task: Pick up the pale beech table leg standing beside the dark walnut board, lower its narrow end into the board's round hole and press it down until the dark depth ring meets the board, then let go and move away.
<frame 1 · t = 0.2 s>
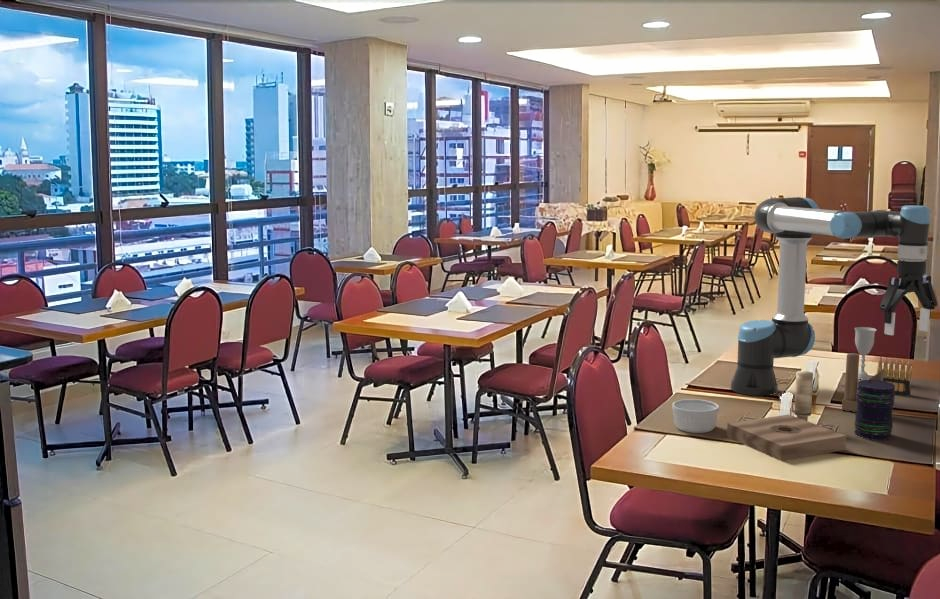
hand: (906, 332, 262), 28 cm above the table, tool pointing down, fingers open, 13 cm apart
walnut board: (784, 443, 250), on the table
beech leg: (801, 425, 266), on the table
ramekin: (694, 428, 265), on the table
ammunition clip: (892, 393, 302), on the table
chalice: (861, 379, 321), on the table
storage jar: (872, 435, 257), on the table
wooden peg block: (861, 412, 280), on the table
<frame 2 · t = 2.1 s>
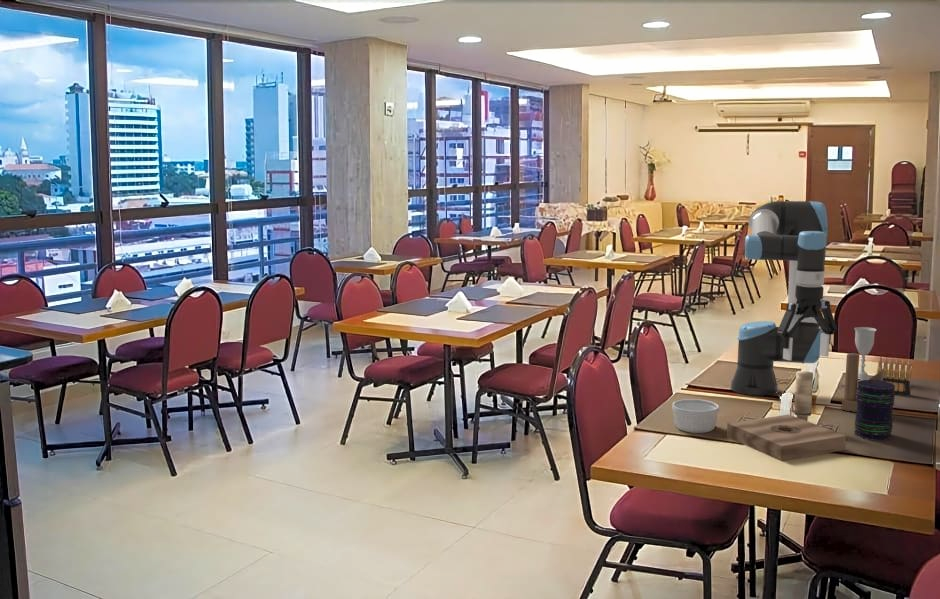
hand: (805, 357, 263), 21 cm above the table, tool pointing down, fingers open, 13 cm apart
nothing on the table moved.
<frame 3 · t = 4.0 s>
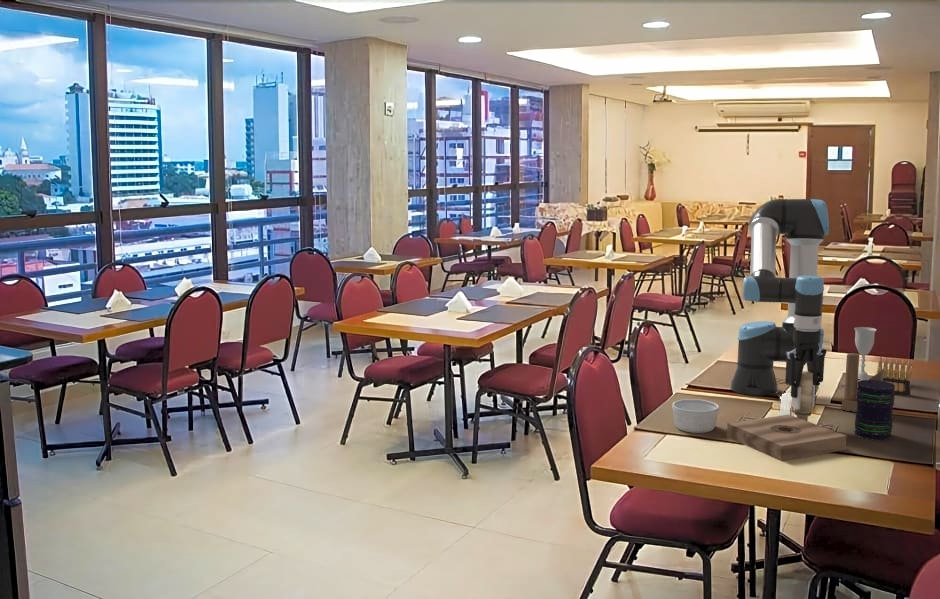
hand: (802, 406, 265), 6 cm above the table, tool pointing down, fingers closed on beech leg, 4 cm apart
beech leg: (801, 425, 266), on the table, touching gripper
everything else where it was.
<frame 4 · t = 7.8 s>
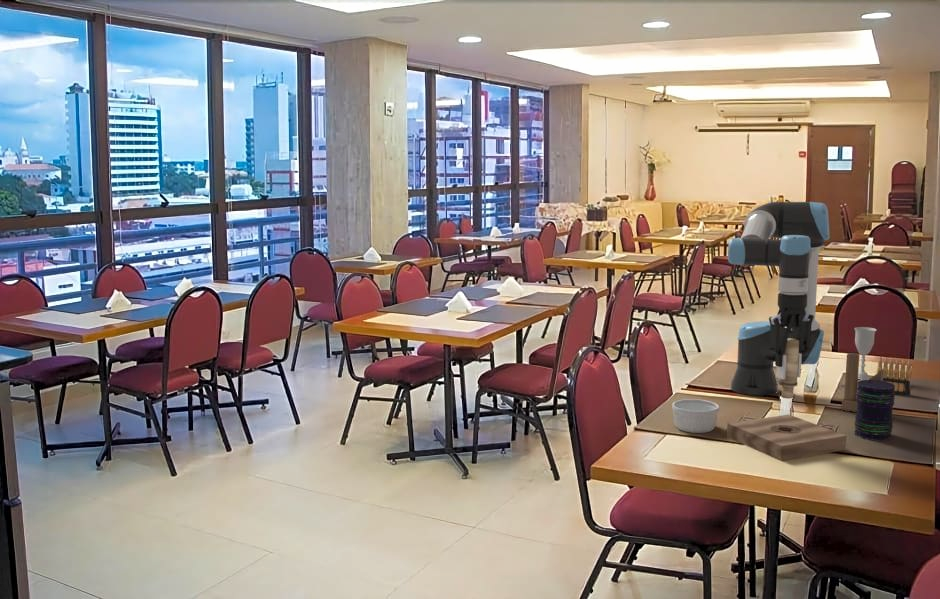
hand: (788, 377, 247), 19 cm above the table, tool pointing down, fingers closed on beech leg, 4 cm apart
beech leg: (787, 397, 248), point 13 cm above the table, touching gripper
everything else where it was.
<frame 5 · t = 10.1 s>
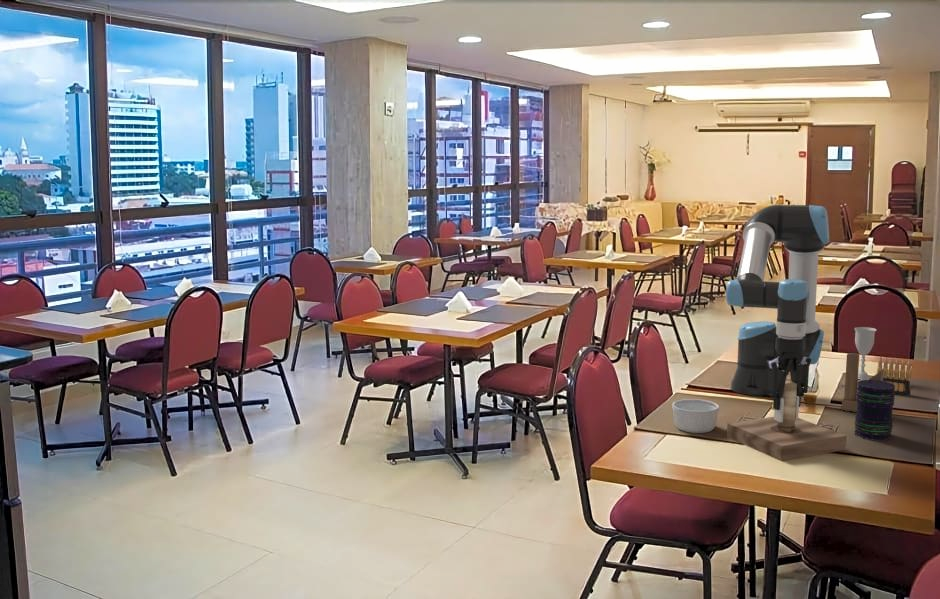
hand: (786, 419, 249), 7 cm above the table, tool pointing down, fingers closed on beech leg, 4 cm apart
beech leg: (785, 439, 250), point 1 cm above the table, touching gripper
everything else where it was.
when the fingers open (6 cm above the table, at t = 11.6 s): beech leg stays where it is, resting on walnut board.
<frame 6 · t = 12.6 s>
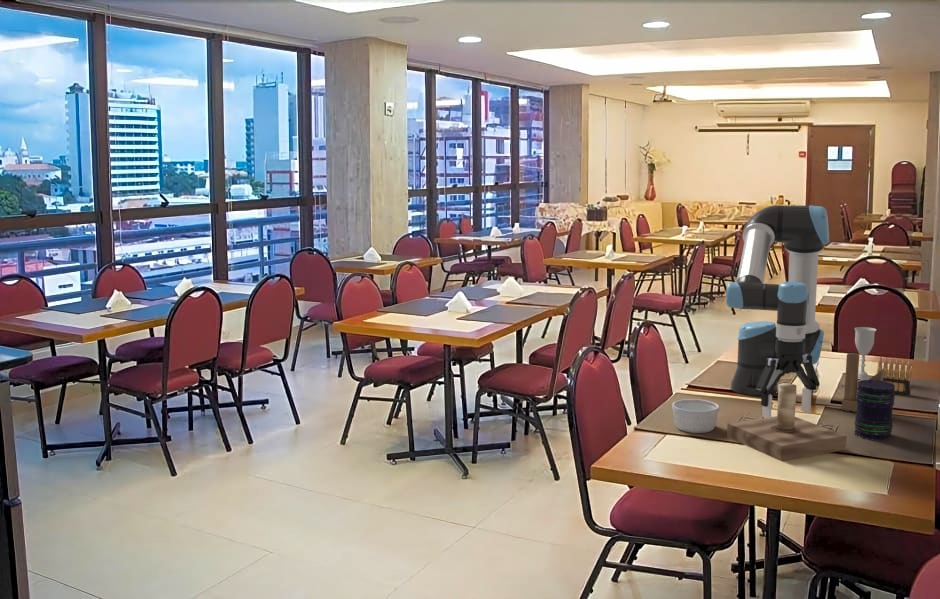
hand: (786, 414, 249), 8 cm above the table, tool pointing down, fingers open, 13 cm apart
beech leg: (784, 441, 250), resting on walnut board
everything else where it was.
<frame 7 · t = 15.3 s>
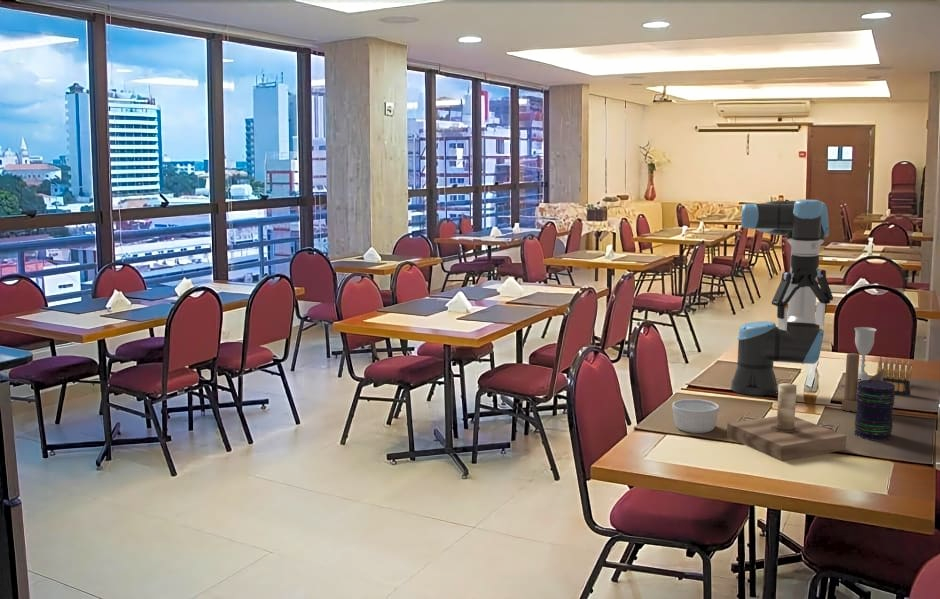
hand: (801, 327, 261), 30 cm above the table, tool pointing down, fingers open, 13 cm apart
nothing on the table moved.
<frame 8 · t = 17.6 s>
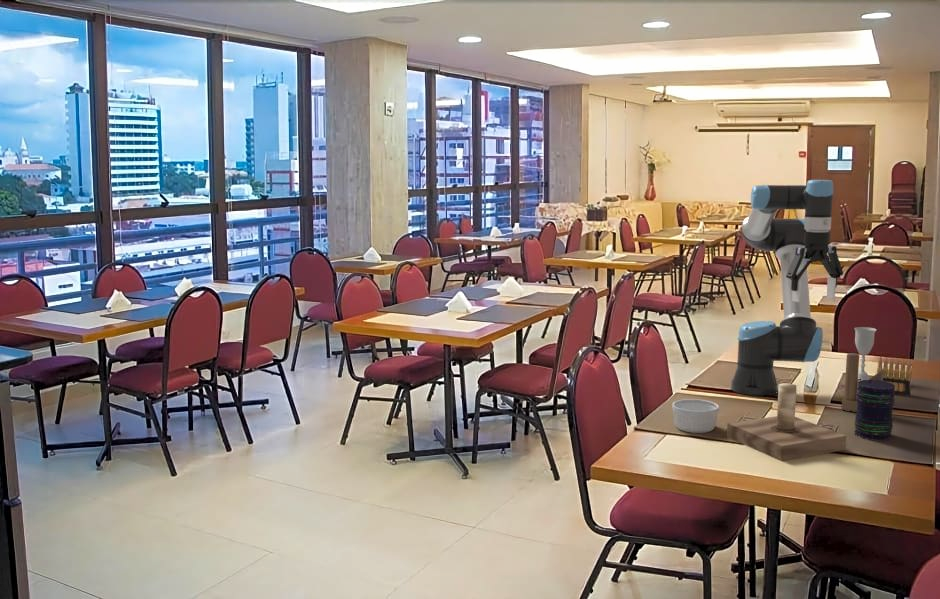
hand: (813, 300, 278), 35 cm above the table, tool pointing down, fingers open, 13 cm apart
nothing on the table moved.
at the end: beech leg 0.1 cm off-centre on the walnut board, point 0.5 cm above the walnut board's base; beech leg tilted 0°; the gripper is holding nothing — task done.
